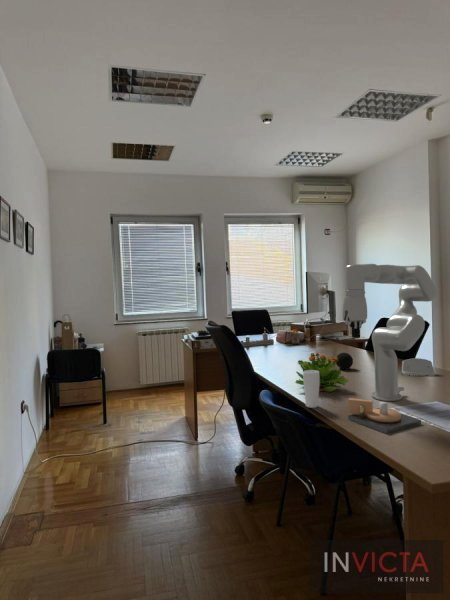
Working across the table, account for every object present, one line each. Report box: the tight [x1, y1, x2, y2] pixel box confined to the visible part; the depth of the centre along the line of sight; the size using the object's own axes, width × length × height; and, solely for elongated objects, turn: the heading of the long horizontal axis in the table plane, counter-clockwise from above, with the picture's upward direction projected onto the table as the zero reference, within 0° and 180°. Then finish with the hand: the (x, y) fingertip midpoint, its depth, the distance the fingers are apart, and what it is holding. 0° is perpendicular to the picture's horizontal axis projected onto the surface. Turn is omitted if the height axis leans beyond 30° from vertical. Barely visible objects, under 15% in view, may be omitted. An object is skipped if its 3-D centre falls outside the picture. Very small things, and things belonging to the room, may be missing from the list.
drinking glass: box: [302, 370, 320, 409], centre depth 171 cm, size 7×7×15 cm
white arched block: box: [400, 357, 436, 377], centre depth 222 cm, size 17×5×10 cm, turn 80°
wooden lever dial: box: [348, 397, 402, 422], centre depth 152 cm, size 12×18×6 cm, turn 62°
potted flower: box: [294, 352, 350, 393], centre depth 199 cm, size 25×24×18 cm
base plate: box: [347, 406, 422, 435], centre depth 150 cm, size 18×18×6 cm
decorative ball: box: [335, 352, 354, 370], centre depth 241 cm, size 10×10×10 cm
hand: (356, 337), depth 169 cm, fingers closed
